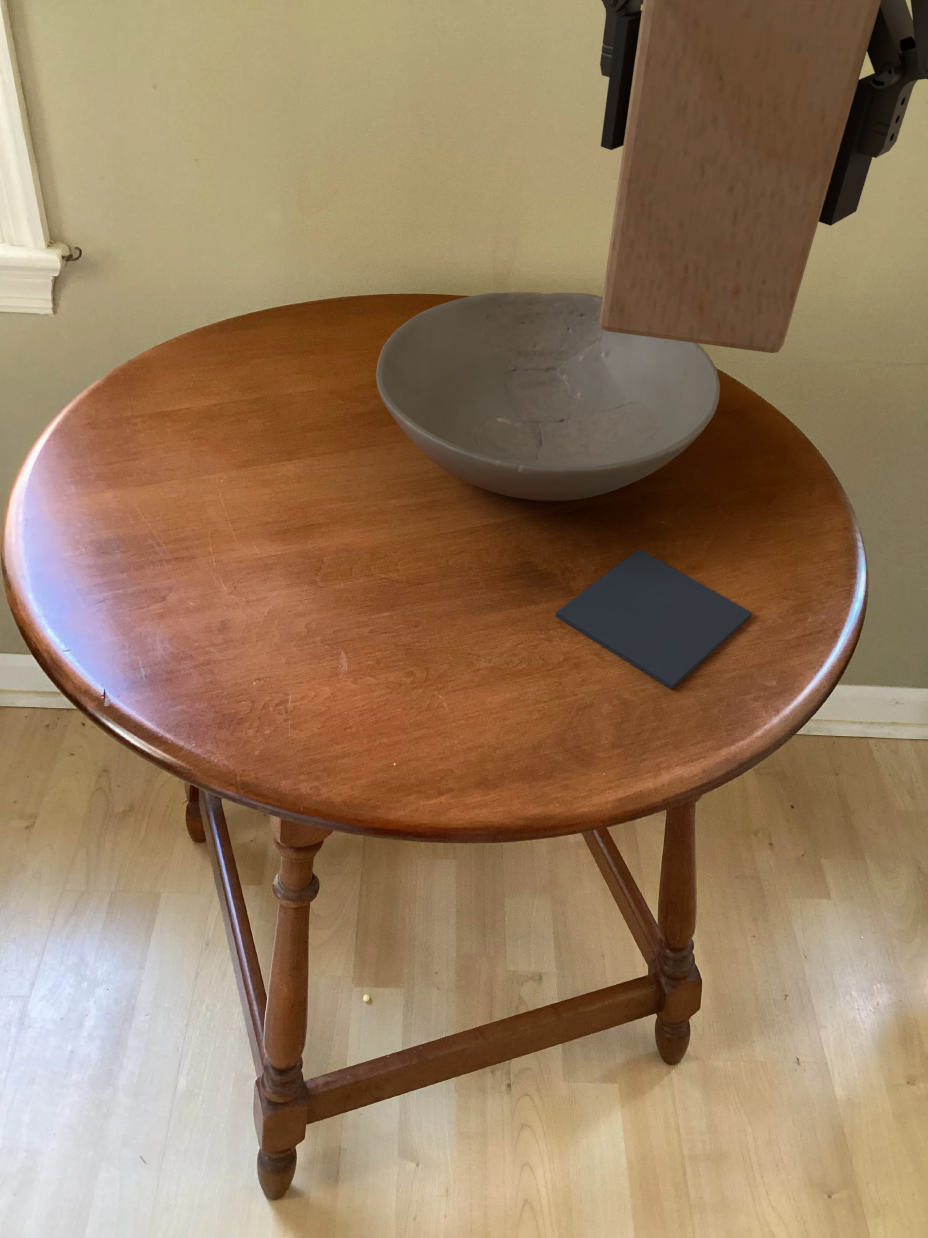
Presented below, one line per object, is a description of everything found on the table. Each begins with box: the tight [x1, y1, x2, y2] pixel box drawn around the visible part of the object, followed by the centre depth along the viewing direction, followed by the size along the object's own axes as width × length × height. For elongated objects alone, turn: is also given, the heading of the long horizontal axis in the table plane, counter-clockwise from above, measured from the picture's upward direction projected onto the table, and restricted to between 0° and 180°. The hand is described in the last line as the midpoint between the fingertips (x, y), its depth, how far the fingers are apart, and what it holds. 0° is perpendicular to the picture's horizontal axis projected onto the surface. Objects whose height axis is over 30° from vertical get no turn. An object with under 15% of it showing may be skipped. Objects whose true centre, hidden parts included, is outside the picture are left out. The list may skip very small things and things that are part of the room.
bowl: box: [375, 291, 721, 502], centre depth 86 cm, size 27×28×8 cm
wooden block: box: [599, 0, 881, 354], centre depth 53 cm, size 10×10×20 cm
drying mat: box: [555, 548, 753, 690], centre depth 74 cm, size 10×10×1 cm
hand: (722, 178), depth 56 cm, fingers closed on wooden block, 13 cm apart
